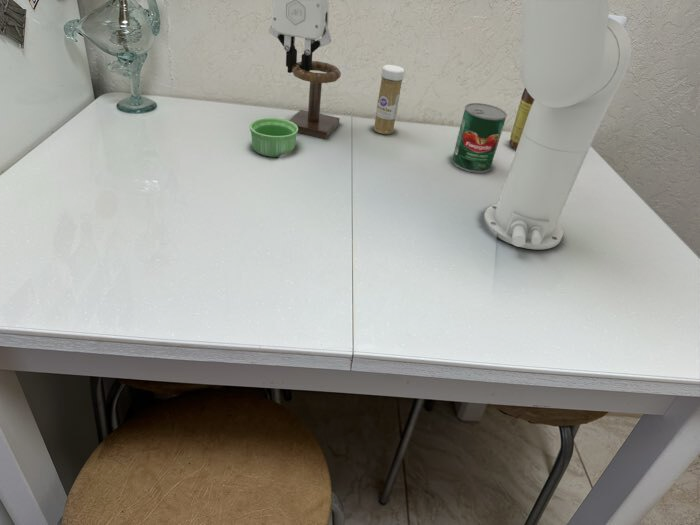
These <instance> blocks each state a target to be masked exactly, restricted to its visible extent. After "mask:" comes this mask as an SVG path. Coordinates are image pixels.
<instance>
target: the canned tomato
mask: <svg viewBox="0 0 700 525" xmlns="http://www.w3.org/2000/svg"><path fill="white" fill-rule="evenodd" d="M507 116H508V114H507V112H506V111H505V110H504V109H502V108H500V107H497V106H494V105H492V104H487V103H480V102H471V103H468V104H466V105H465V106H464V110H463V115H462V120H461V123H460V126H459V131H458V134H457V138H456V142H455V146H454V150H453V154H452V157H451V162H452V164H453V165H454V166H455V167H457V168H458V169H460V170H463V171H465V172H468V173H474V174H484V173H488V172H489V171H490V170H491V169H492V164H493V162H494V158H495V155H496V152H497V150H498V149H497V148H498V145H499V142H500V138H501V136H502V132H503V130H504V126H505V122H506V119H507Z"/></svg>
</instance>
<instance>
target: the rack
mask: <svg viewBox="0 0 700 525" xmlns="http://www.w3.org/2000/svg"><path fill="white" fill-rule="evenodd" d="M322 86H323V83H313V82H309V92H308V95H309V96H308V108H307V110H305V109H300V110H298V112H296V113H295V114H294V115H293V116H292V117H291V118H290V119H288V121H291V122H293V123H294V124H296V125H297V127H298V133H297V134H301V135H306V136H311V137H316V138H319V139H325V140H327V139H328V138H329V136H330V135H332V133H333V132H334V131H335V130H336V128H337V127H338V126H339V125H340V117H337V116H334V115H333V116H332V115H328V114H323V113H320V112H321V98H322Z"/></svg>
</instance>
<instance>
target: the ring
mask: <svg viewBox="0 0 700 525" xmlns="http://www.w3.org/2000/svg"><path fill="white" fill-rule="evenodd" d="M291 70H292V75H293V76H294V77H295V78H297V79H299V80H302V81H304V82H309V83H310V82H313V83H322V84H329V83H335V82H336V81H338V80H339V79H340V78H341V76H342V73H341V70H340V69H339V68H338V67H337V66H336V65H334V64H331V63H329V62H323V61H319V60H312V68H311V71H305V70H303V69H301V61H297V63H296V64H294V65H293V66H292V68H291ZM313 71H314V72H313ZM315 71H316V72H315Z"/></svg>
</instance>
